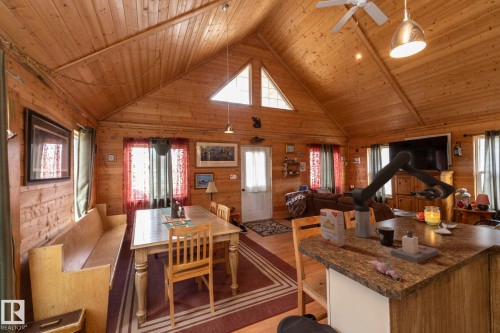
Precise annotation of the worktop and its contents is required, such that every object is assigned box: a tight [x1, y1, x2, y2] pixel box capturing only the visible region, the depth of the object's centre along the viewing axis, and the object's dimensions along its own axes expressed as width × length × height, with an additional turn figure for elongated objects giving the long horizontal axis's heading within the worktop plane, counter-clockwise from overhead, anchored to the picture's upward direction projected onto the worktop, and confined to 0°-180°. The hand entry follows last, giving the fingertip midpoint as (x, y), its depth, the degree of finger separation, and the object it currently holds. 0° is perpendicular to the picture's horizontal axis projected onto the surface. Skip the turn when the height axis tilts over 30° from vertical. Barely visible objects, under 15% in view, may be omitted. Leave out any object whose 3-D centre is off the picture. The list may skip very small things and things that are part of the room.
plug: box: [401, 230, 419, 255], centre depth 114 cm, size 5×5×13 cm
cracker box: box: [319, 208, 346, 248], centre depth 139 cm, size 14×6×21 cm, turn 27°
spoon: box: [433, 222, 458, 235], centre depth 158 cm, size 9×32×4 cm, turn 129°
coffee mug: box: [374, 226, 395, 248], centre depth 134 cm, size 12×9×10 cm
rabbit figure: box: [369, 260, 406, 282], centre depth 96 cm, size 6×6×15 cm
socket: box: [390, 244, 440, 264], centre depth 116 cm, size 22×12×3 cm, turn 118°
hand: (419, 195), depth 127 cm, fingers open, 8 cm apart
